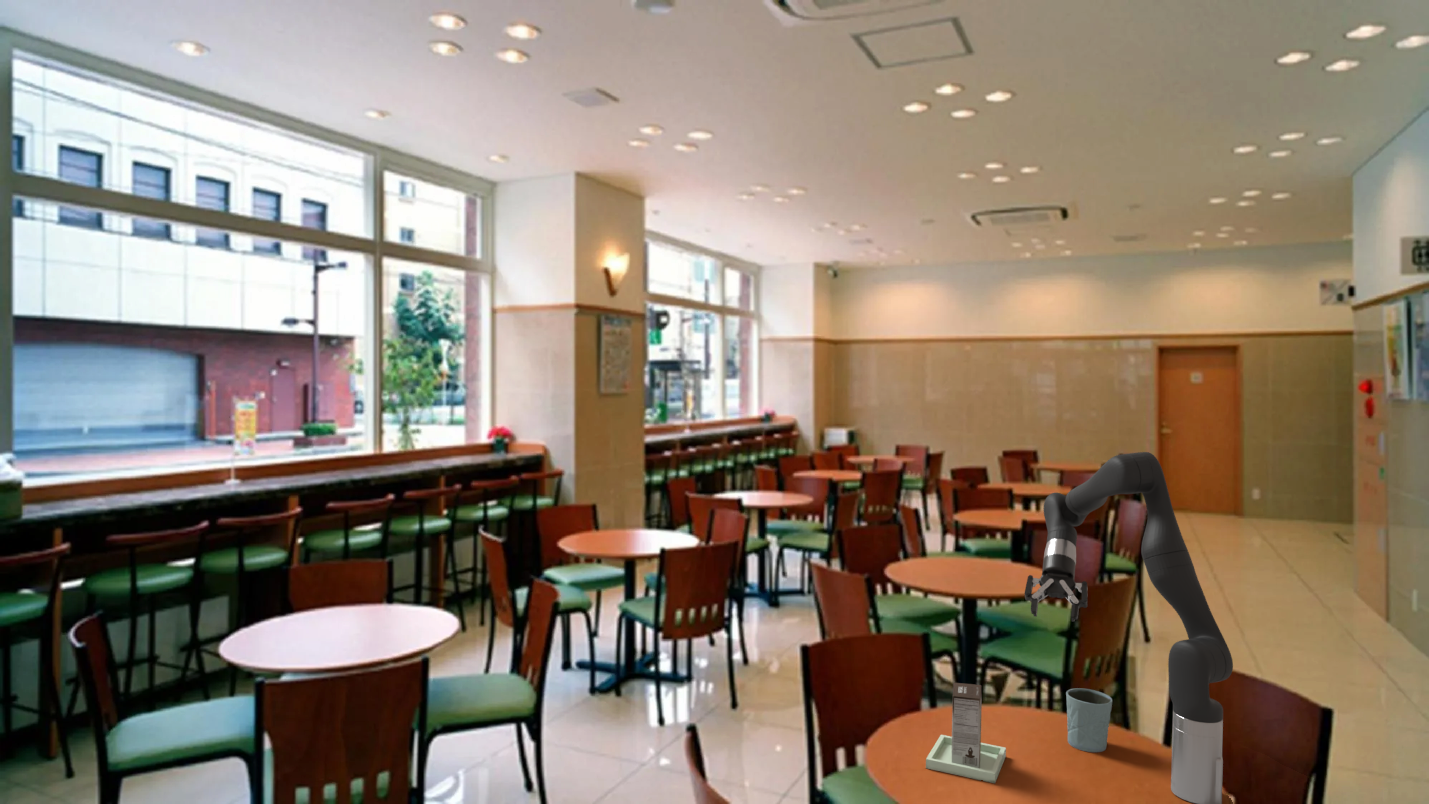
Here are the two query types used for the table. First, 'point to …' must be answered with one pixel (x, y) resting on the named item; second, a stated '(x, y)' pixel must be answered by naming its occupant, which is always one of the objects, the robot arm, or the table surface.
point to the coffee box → (966, 724)
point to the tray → (942, 762)
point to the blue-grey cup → (1088, 719)
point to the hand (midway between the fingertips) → (1053, 617)
